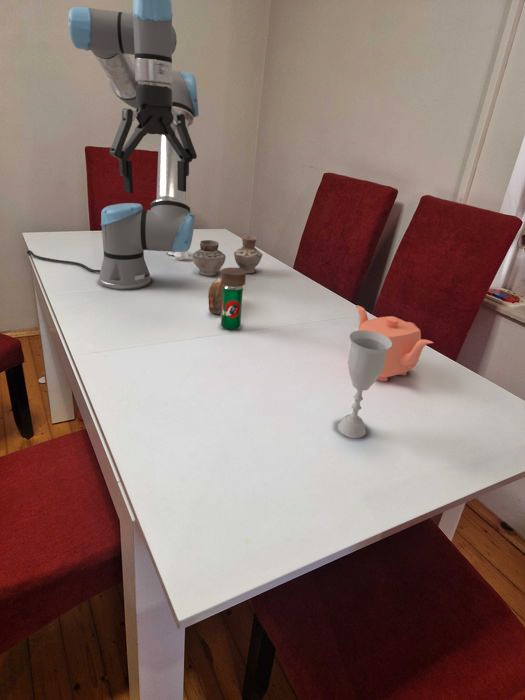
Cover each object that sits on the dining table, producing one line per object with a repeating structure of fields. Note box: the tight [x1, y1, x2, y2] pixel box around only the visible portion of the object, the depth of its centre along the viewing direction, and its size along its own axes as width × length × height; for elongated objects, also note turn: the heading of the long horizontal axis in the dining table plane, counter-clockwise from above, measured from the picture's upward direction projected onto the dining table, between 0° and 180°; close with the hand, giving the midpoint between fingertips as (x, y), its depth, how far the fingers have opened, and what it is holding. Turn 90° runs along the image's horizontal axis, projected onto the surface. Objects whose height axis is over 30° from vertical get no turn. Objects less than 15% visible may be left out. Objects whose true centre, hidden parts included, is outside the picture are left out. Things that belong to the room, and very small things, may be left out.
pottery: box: [191, 235, 263, 277], centre depth 156 cm, size 11×25×12 cm, turn 116°
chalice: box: [337, 330, 392, 439], centre depth 78 cm, size 7×7×18 cm
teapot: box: [355, 305, 434, 382], centre depth 101 cm, size 15×17×13 cm
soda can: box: [220, 285, 244, 331], centre depth 115 cm, size 5×5×12 cm
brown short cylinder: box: [220, 266, 247, 287], centre depth 111 cm, size 6×6×3 cm
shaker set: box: [167, 250, 190, 261], centre depth 167 cm, size 12×4×11 cm, turn 31°
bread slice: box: [207, 275, 224, 315], centre depth 126 cm, size 15×3×8 cm, turn 168°
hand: (156, 191), depth 104 cm, fingers open, 13 cm apart
